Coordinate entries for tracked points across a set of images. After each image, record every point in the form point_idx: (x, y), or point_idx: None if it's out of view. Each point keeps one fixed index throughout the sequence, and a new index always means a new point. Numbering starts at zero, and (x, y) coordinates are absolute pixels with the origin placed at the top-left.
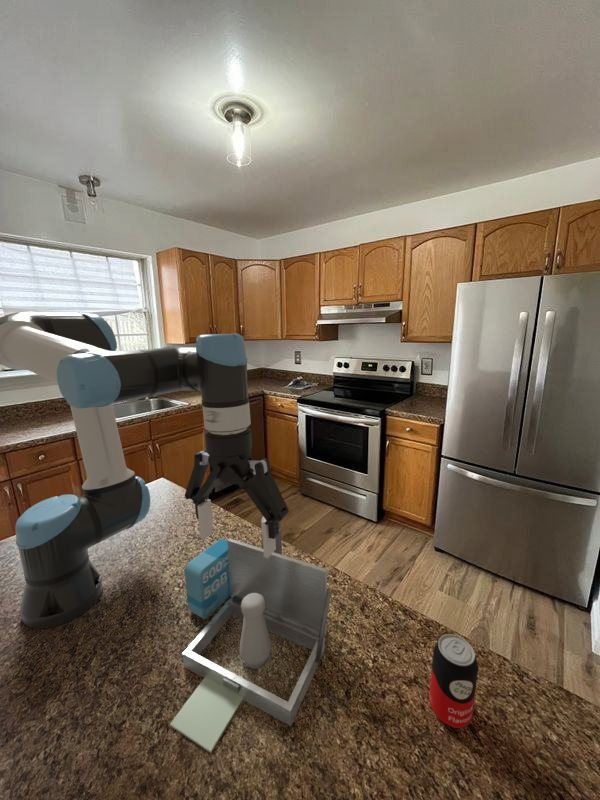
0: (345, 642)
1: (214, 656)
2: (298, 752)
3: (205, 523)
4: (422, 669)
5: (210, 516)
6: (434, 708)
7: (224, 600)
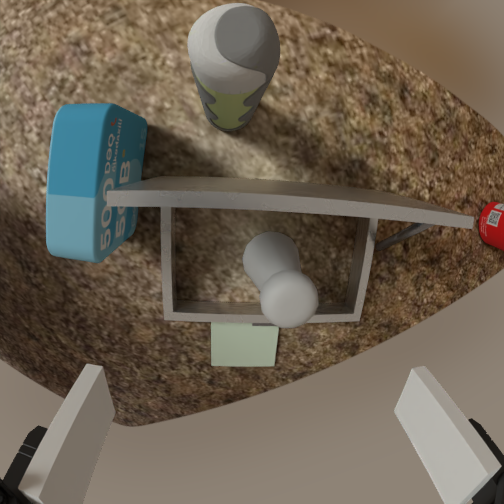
0: (393, 171)
1: (200, 276)
2: (363, 325)
3: (92, 444)
4: (473, 182)
5: (76, 432)
6: (484, 238)
7: (141, 172)
